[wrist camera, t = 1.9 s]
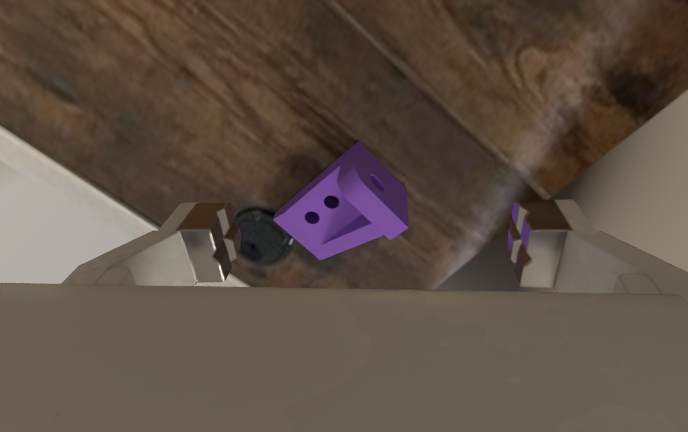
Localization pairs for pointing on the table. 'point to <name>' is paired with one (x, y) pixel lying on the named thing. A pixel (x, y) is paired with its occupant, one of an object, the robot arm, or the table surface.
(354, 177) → the bracket
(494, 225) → the table surface
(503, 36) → the table surface
